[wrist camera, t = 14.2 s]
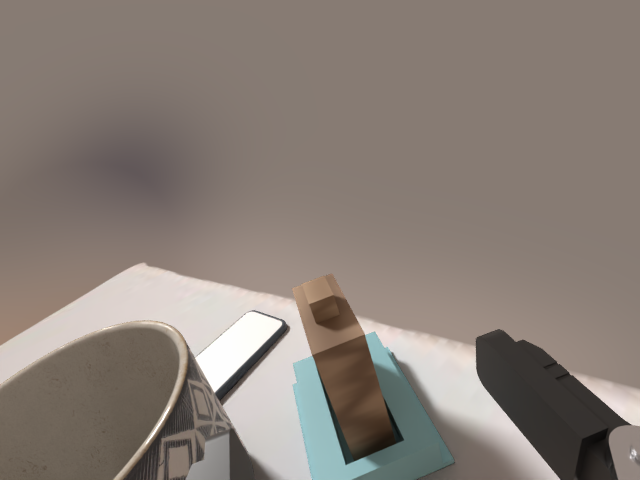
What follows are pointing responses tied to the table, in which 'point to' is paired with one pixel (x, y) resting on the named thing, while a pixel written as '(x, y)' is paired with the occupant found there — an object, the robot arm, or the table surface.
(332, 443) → the teal rack
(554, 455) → the robot arm
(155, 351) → the planter
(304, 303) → the brown wooden bottle
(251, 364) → the phone case
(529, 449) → the table surface
